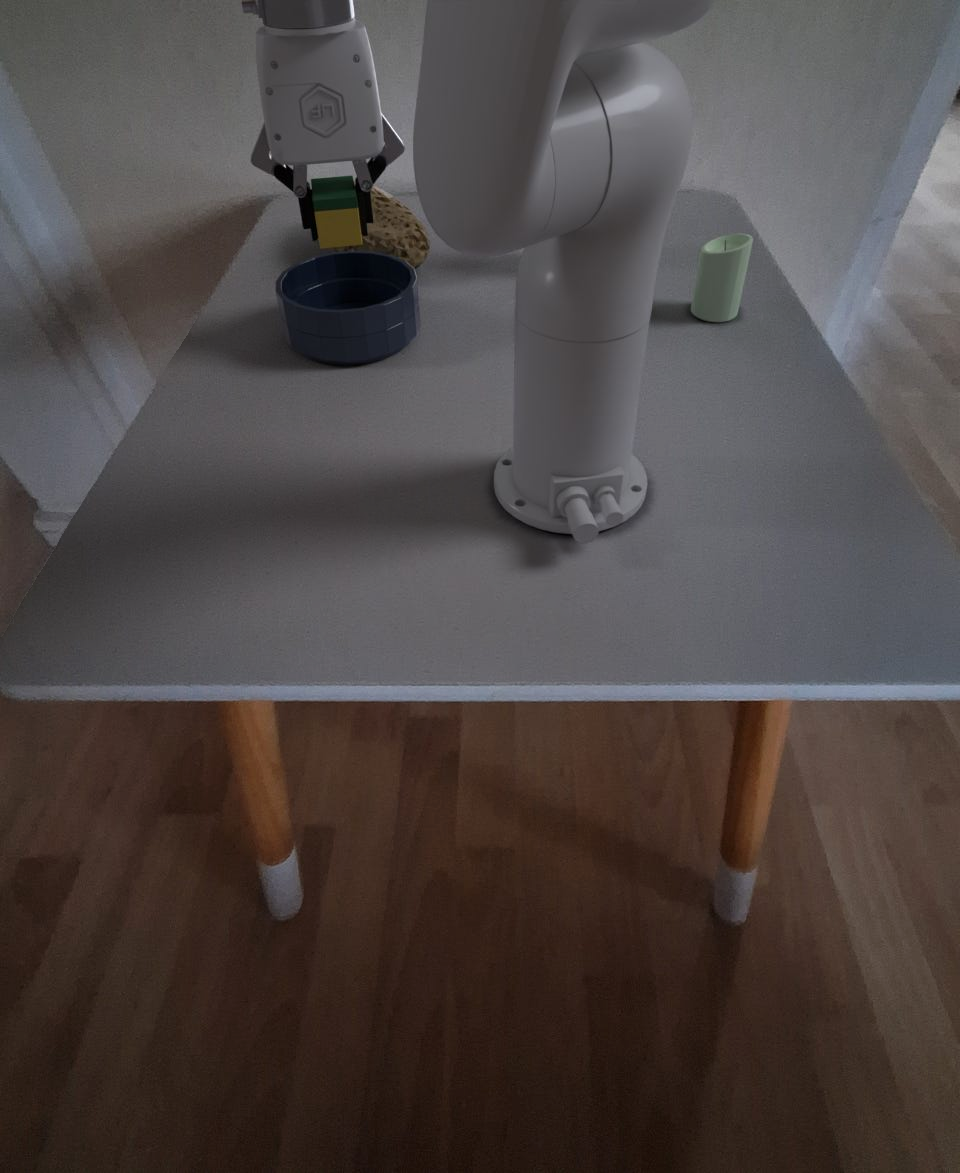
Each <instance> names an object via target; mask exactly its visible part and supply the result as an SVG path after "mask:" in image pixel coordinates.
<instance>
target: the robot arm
mask: <svg viewBox="0 0 960 1173" xmlns="http://www.w3.org/2000/svg"><path fill="white" fill-rule="evenodd" d="M717 1H718V0H426V8H425V9H426V11H425V18H424V27H423V37H422V46H421V55H420V63H419V72H418V80H417V90H416V98H415V100H416V102H415V107H414V108H415V111H414V120H413V134H412V135H413V136H412V162H413V172H414V174H413V175H414V182H415V188H416V191H417V195H418V199H419V202H420V205H421V209H422V210H423V213H424V215H425V218H426V220H427V222H428V224H429V225H430V227H431V229H432V230H433V231H434V233H435V234H436V235H437V236H438V238H439V239H440V240H441V241H443V242H444V244H446V245H447V246H448V247H450V248H451V249H453V250H455V251H457V252H458V253H459V252H460V253H461V254H464V255H467V256H472V257H478V258H481V257H482V258H486V257H488V258H490V257H496V256H501V255H505V254H509V253H513V252H516V251H519V250H522V252H521V255H520V260H519V263H518V267H517V273H516V280H515V293H514V325H513V326H514V331H513V333H514V334H513V335H514V336H513V340H514V341H513V404H512V406H513V407H512V408H513V409H512V413H513V414H512V447H511V448H509V449H508V450H507V451H505V453H504V454H502V455H501V457H500V458H499V460H497V462H496V465H495V468H494V471H493V488H494V494H495V496H496V499H497V500H498V503H499V504H500V505H501V506H502V507H503V509H504V510H505V511H506V512H507V513H509V514H510V515H511V516H512V517H513V518H514V519H517V520H519V521H521V522H522V523H524V524H526V525H528V526H530V527H533V528H536V529H538V530H543V531H547V532H551V533H555V534H556V533H557V534H566V535H567V534H568V535H572V538H573V539H574V541H575V542H577V543H579V544H589V543H592V542H593V541H595V539H597V538H598V535H599V533H600V532H602V531H606V530H608V529H612V528H615V527H617V526H620V525H621V524H622V523H625V522H626V521H628V520H629V519H630V518H631V517H633V516H634V515H636V514H637V512H639V509H640V508H641V507H642V506H643V504H644V501H645V499H646V496H647V489H648V475H647V472H646V469H645V467H644V465H643V464H642V462H641V461H640V460H639V458H637V457H636V456H635V455H634V454H633V449H634V441H635V436H636V435H635V433H636V426H637V420H638V419H637V418H638V411H639V405H640V404H639V403H640V396H641V390H642V383H643V382H642V380H643V374H644V367H645V360H646V351H647V345H648V338H649V336H648V335H649V329H650V323H651V317H652V310H653V304H654V296H655V289H656V283H657V276H658V272H659V271H658V269H659V264H660V259H661V254H662V250H663V249H662V248H663V246H664V245H663V244H664V242H665V241H664V240H665V236H666V233H667V229H668V225H669V222H670V219H671V215H672V212H673V210H674V206H675V204H676V201H677V197H678V194H679V190H680V187H681V185H682V182H683V178H684V175H685V172H686V168H687V164H688V160H689V156H690V151H691V145H692V143H691V142H692V135H693V109H692V104H691V103H692V102H691V98H690V94H689V91H688V88H687V84H686V82H685V79H684V78H683V75H682V74H681V72H680V71H679V69H678V67H677V66H676V65H675V63H674V62H673V61H672V60H671V59H670V58H669V57H668V56H667V55H666V54H665V53H664V52H662V51H661V50H659V49H658V48H656V47H654V46H652V45H650V44H648V43H646V42H649V41H652V40H657V39H660V38H662V37H666V36H670V35H671V34H674V33H677V32H680V31H681V30H684V29H687V28H689V27H690V26H691V25H693V24H695V23H697V22H698V21H700V20H701V19H703V17H705V16H706V15H707V14H708V13H709V12H710V10H711V9H712V8H713V7H714V5H715V4H716V3H717ZM240 3H241V7H242V12H243V14H252V15H253V16H258V19H262V24H263V25H262V26H261V27H259V28H257V30H256V32H255V54H256V55H255V58H256V66H257V67H256V69H257V70H256V71H257V79H258V80H257V81H258V87H259V95H260V101H261V102H260V103H261V110H262V116H263V121H264V122H263V123H262V126H261V129H260V132H259V134H258V137H257V139H256V141H255V144H254V147H253V149H252V150H251V151H252V152H251V154H250V163H251V165H252V166H253V167H255V168H257V169H259V170H261V171H262V172H264V173H266V174H268V175H271V176H273V177H275V179H276V180H277V181H279V182H280V183H281V184H283V185H284V186H285V187H286V188H288V190H290V191H291V192H292V193H293V194H294V196H295V197H296V198H297V200H298V206H299V212H300V218H301V225H302V230H310V235H311V240H312V242H316V241H317V242H319V238H318V232H317V225H316V219H315V212H314V206H313V199H312V188H311V183H310V182H308V165H319V164H331V163H343V162H352V165H353V169H354V172H355V175H356V177H355V178H354V181H355V184H356V185H355V190H356V195H357V203H358V211H359V219H360V227H361V235H363V236H368V231H367V223H374V222H373V213H372V204H371V195H370V191H371V190H372V188H373V186H374V185H375V183H377V180H378V179H379V178H380V177H381V175H382V174H383V173H384V172H385V170H386V168H387V167H388V166H389V165H391V164H392V163H393V162H394V161H396V160H397V159H398V158H399V157H400V156H402V155H403V154H404V153H405V151H406V150H405V149H406V148H405V145H404V142H403V140H402V138H400V136H399V135H398V134H397V132H396V131H395V130H394V128H393V126H392V125H391V124H390V123H389V120H388V119H387V118H386V117H385V116H384V114H383V113H382V108H381V102H380V100H381V99H380V95H379V87H378V81H377V75H376V68H375V62H374V56H373V52H372V48H371V44H370V38H369V36H368V32H367V29H366V26H365V24H364V23H363V22H362V21H361V20H358V19H356V16H355V7H354V0H240ZM367 160H368V161H367ZM290 166H292V168H291V167H290Z"/></svg>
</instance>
